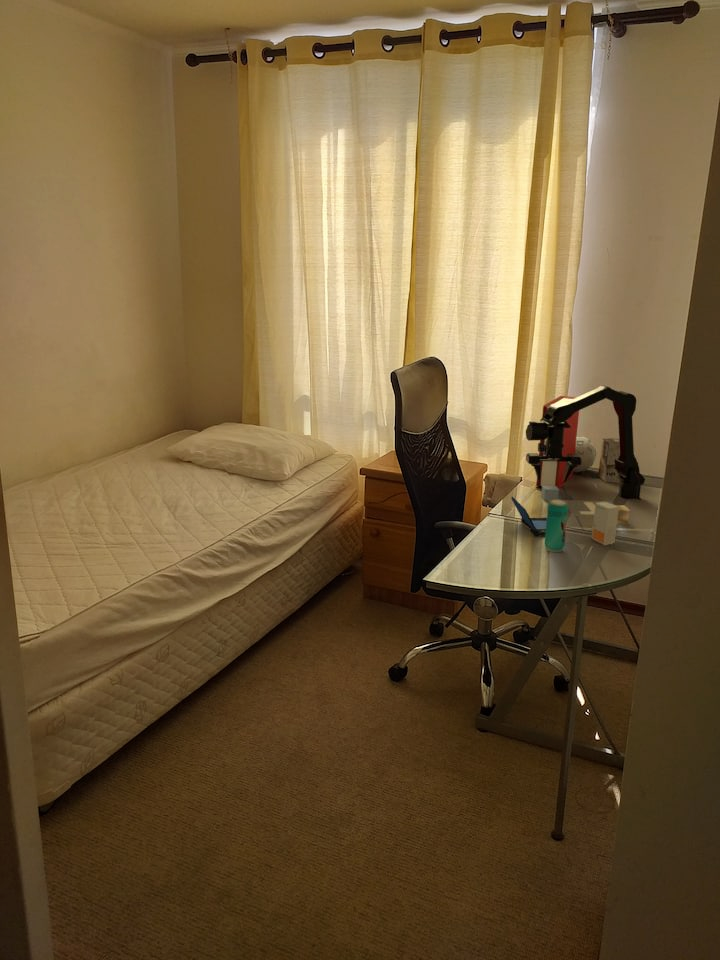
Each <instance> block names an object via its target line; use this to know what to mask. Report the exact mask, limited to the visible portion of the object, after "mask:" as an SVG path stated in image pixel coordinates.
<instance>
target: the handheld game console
mask: <svg viewBox="0 0 720 960" xmlns="http://www.w3.org/2000/svg"><path fill="white" fill-rule="evenodd" d="M511 501H512V503H513V504H514V506H515V508H516V509H517V512H518V513H519V515H520V517H521V519H520V522H521V523H523V525H524V526H525V527H526V528H528V529H529V531H530V532H531V533H532V534H533V536H534V537H545V533H546V522H547V517H530V515H529V513H528V511H527V510H526V508H525V507H524V506H523V505H522V504H521V503H519V502H518V500H517V499H516V498H515V497H513V496H511Z"/></svg>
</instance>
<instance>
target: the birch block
mask: <svg viewBox="0 0 720 960" xmlns="http://www.w3.org/2000/svg"><path fill="white" fill-rule="evenodd" d="M615 506H617V507H619V510H618V518H617V525H629V522H630V521H629V520H630V509H629V508H628V507H627V506H626V505H624V504H623V505H622V504H621V505H618V504H615Z"/></svg>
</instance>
